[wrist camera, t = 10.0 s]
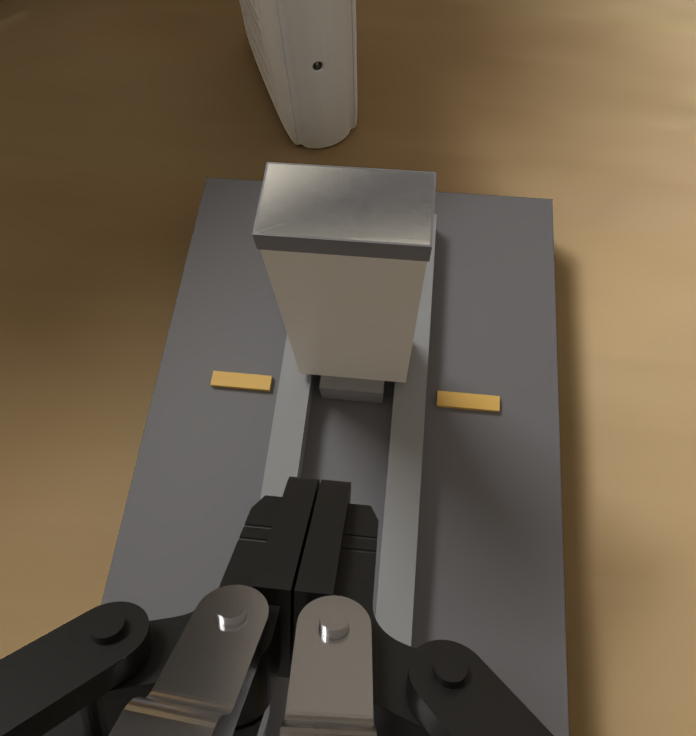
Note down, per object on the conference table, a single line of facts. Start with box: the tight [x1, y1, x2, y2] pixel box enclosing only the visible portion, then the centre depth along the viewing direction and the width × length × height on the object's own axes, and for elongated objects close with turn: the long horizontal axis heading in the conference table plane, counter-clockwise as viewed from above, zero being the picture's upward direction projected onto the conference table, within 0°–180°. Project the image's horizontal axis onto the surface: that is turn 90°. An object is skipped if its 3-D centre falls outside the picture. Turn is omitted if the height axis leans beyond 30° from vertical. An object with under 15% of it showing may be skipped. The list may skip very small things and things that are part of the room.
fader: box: [252, 162, 437, 403], centre depth 18 cm, size 4×3×10 cm
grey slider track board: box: [101, 177, 569, 736], centre depth 22 cm, size 16×26×4 cm, turn 174°
